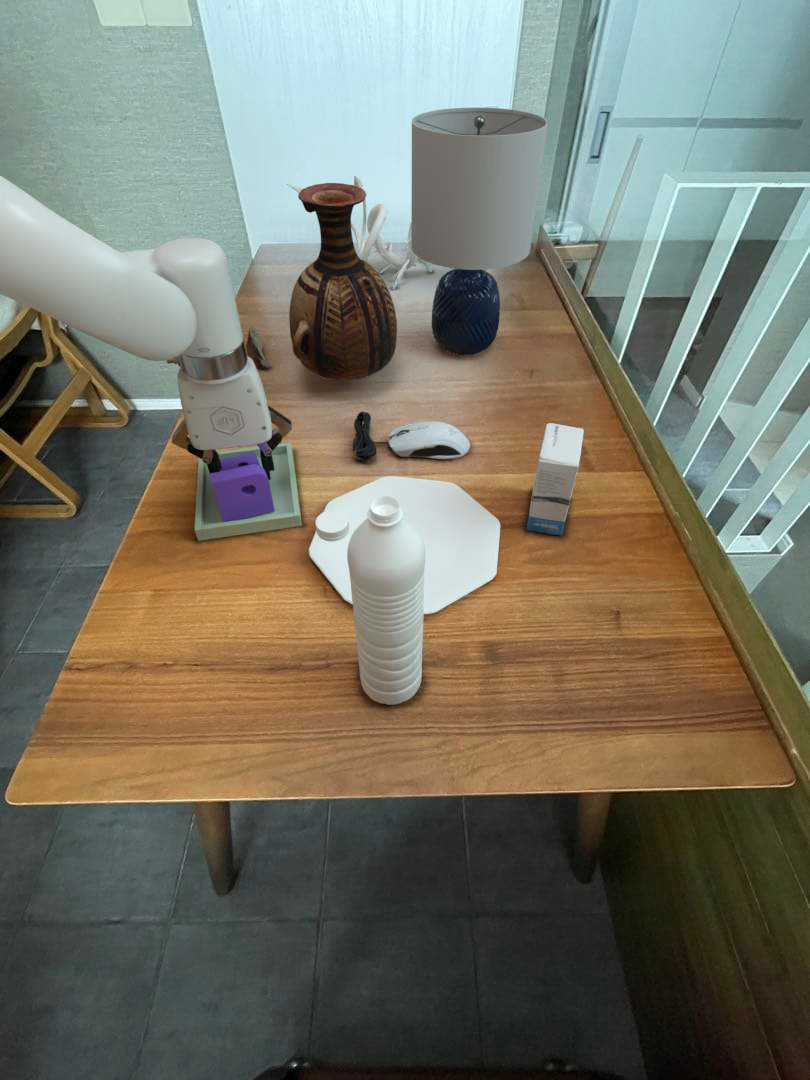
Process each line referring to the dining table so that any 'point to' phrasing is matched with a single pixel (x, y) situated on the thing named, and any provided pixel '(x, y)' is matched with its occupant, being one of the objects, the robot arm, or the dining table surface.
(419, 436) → the computer mouse
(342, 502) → the plate
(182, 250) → the robot arm
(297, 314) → the vase
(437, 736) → the dining table surface
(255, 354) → the oyster shell
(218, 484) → the bracket
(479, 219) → the lamp
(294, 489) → the shallow tray
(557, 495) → the ink box
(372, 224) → the white dragon statue
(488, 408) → the dining table surface
